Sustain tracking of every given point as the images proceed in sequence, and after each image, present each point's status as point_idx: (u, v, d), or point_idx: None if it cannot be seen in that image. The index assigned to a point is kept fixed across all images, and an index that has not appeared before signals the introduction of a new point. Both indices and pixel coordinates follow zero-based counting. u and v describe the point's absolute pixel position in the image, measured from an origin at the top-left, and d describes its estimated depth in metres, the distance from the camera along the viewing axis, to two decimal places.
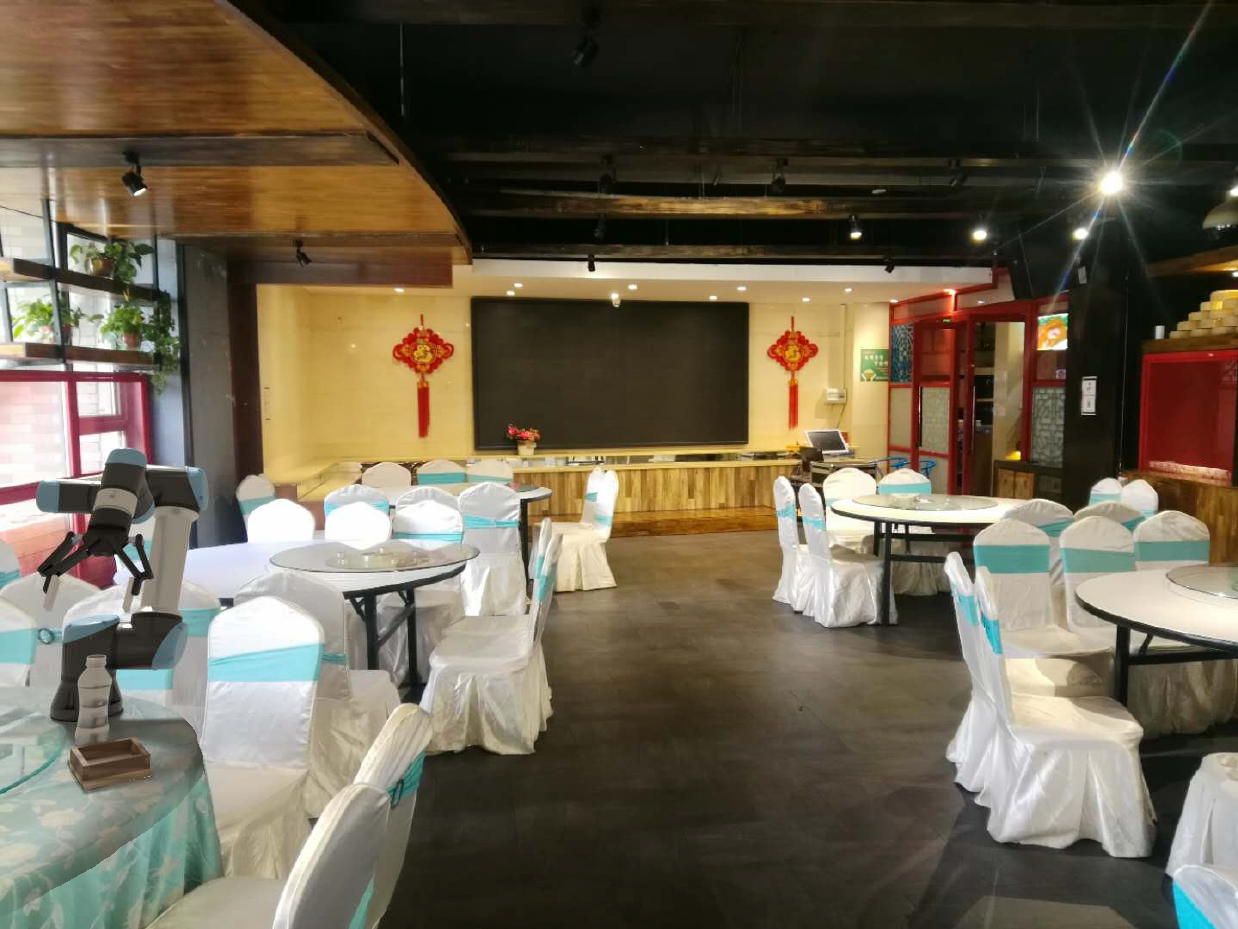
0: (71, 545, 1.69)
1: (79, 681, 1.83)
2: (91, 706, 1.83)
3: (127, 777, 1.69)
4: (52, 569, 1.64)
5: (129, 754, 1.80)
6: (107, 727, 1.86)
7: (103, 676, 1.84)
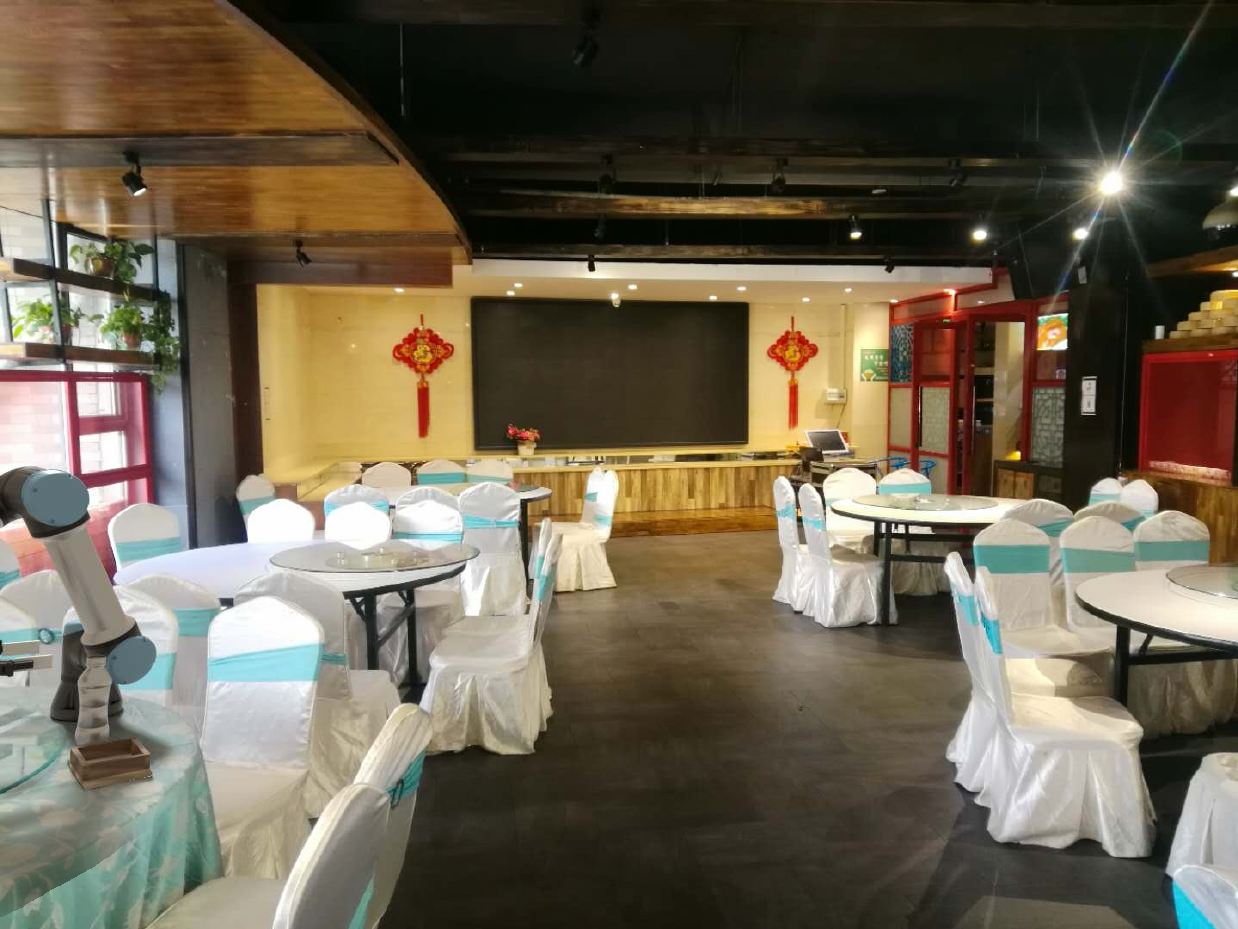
0: None
1: (79, 681, 1.83)
2: (91, 706, 1.83)
3: (127, 777, 1.69)
4: None
5: (129, 754, 1.80)
6: (107, 727, 1.86)
7: (103, 676, 1.84)
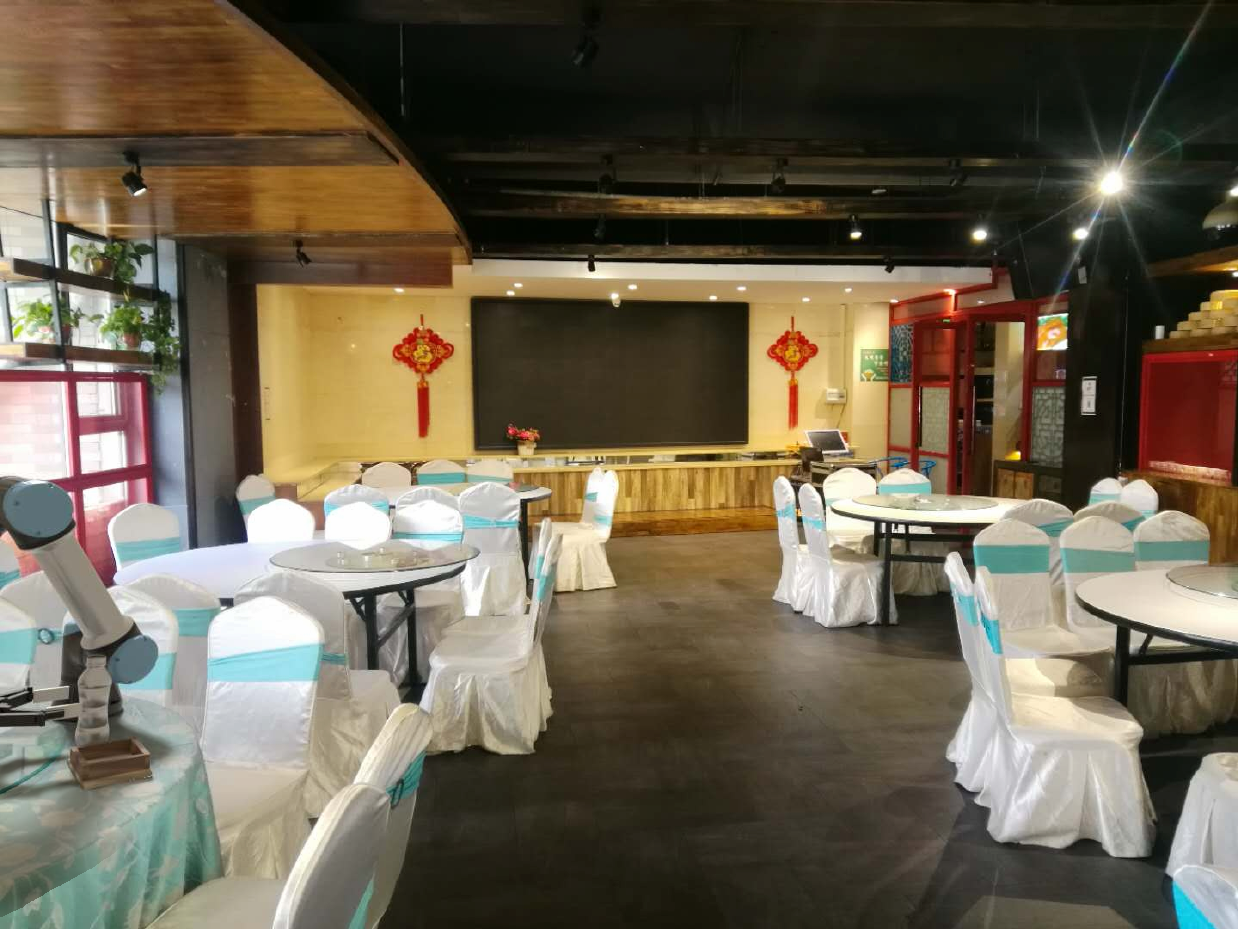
0: None
1: (79, 681, 1.83)
2: (91, 706, 1.83)
3: (127, 777, 1.69)
4: None
5: (129, 754, 1.80)
6: (107, 727, 1.86)
7: (103, 676, 1.84)
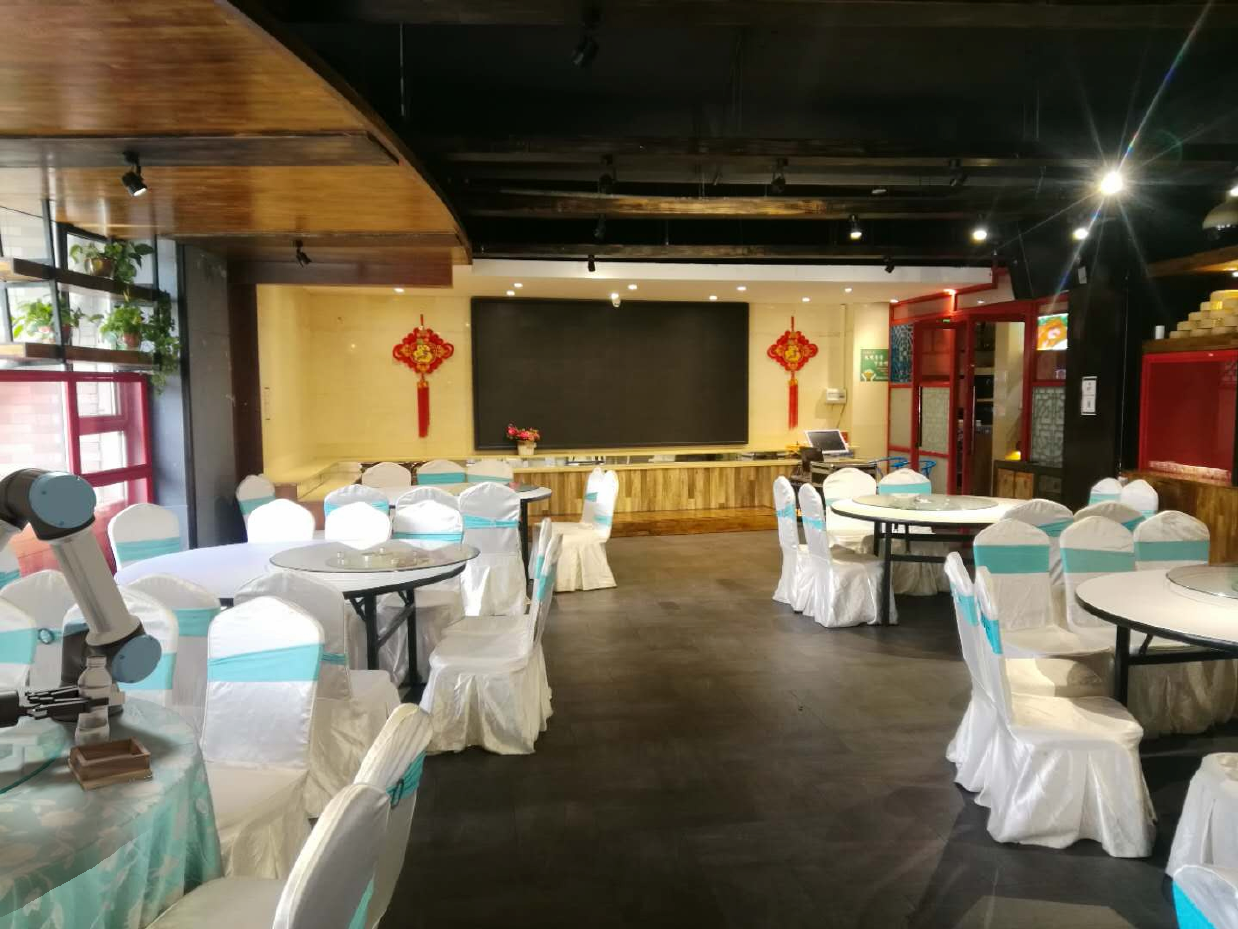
0: None
1: (79, 681, 1.83)
2: None
3: (127, 777, 1.69)
4: None
5: (129, 754, 1.80)
6: (107, 727, 1.86)
7: (104, 676, 1.84)
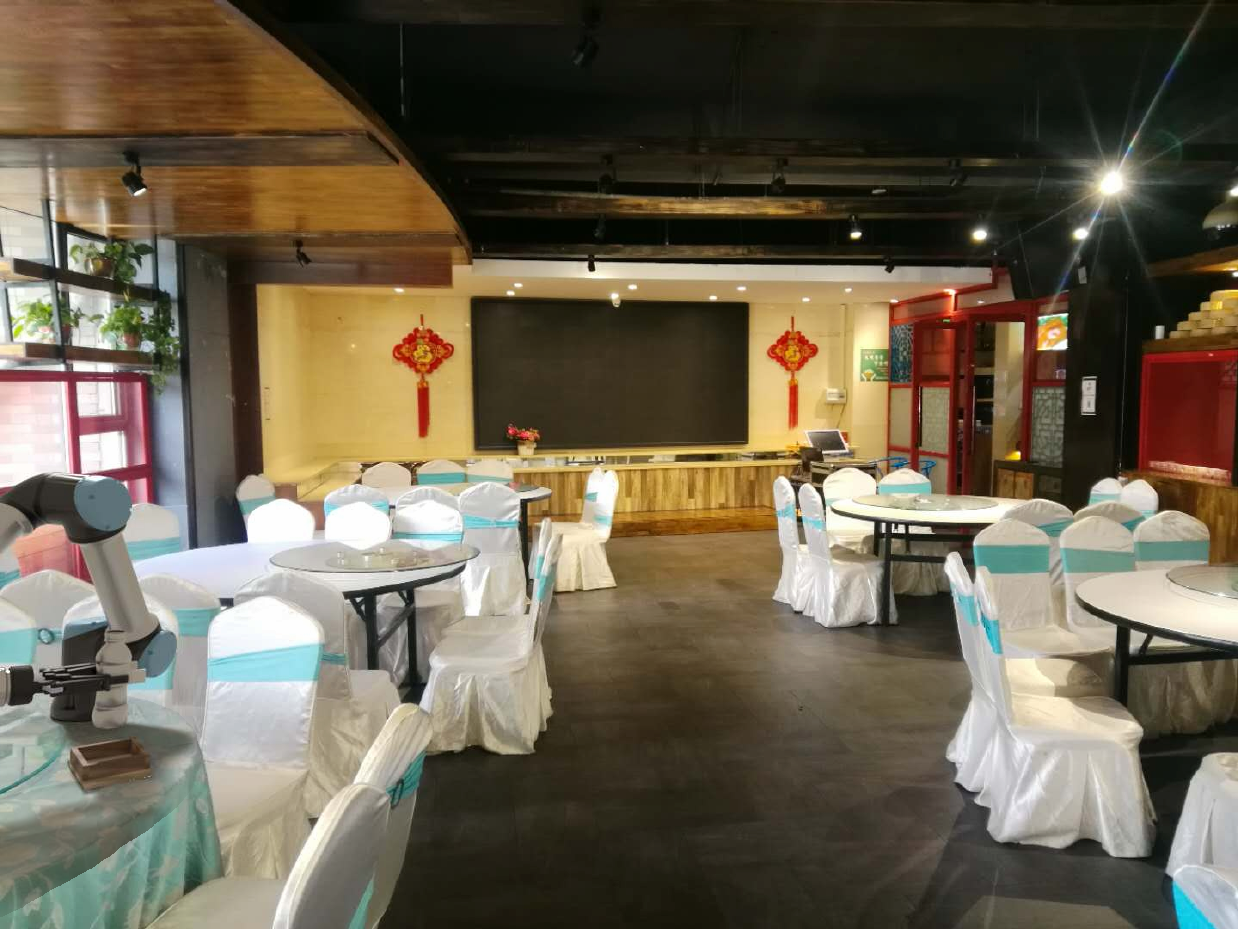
0: None
1: (97, 657, 1.71)
2: None
3: (127, 777, 1.69)
4: None
5: (129, 754, 1.80)
6: (126, 707, 1.74)
7: (123, 652, 1.72)
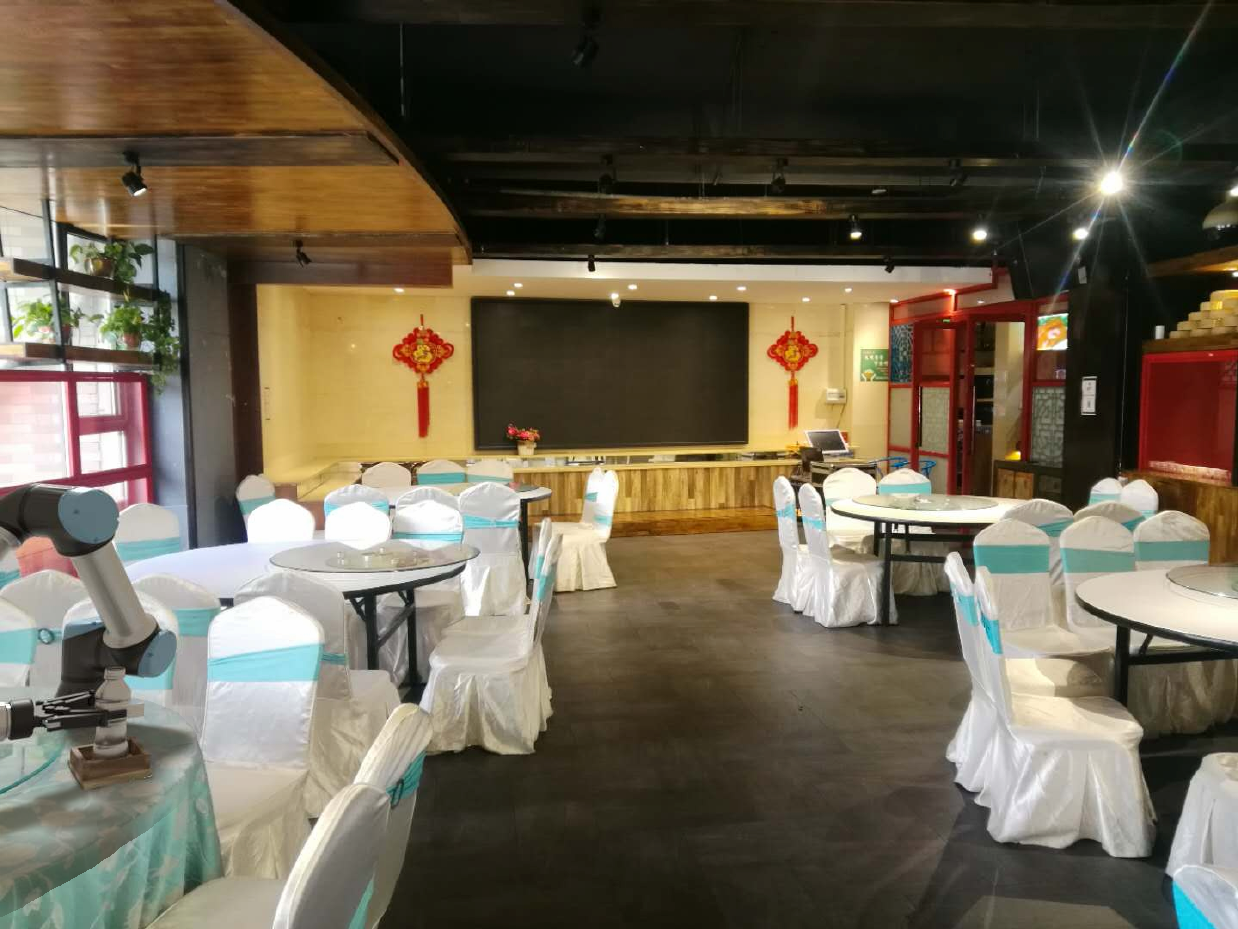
0: None
1: (97, 695, 1.72)
2: (110, 722, 1.72)
3: (127, 777, 1.69)
4: None
5: (129, 754, 1.80)
6: (126, 744, 1.74)
7: (123, 689, 1.73)
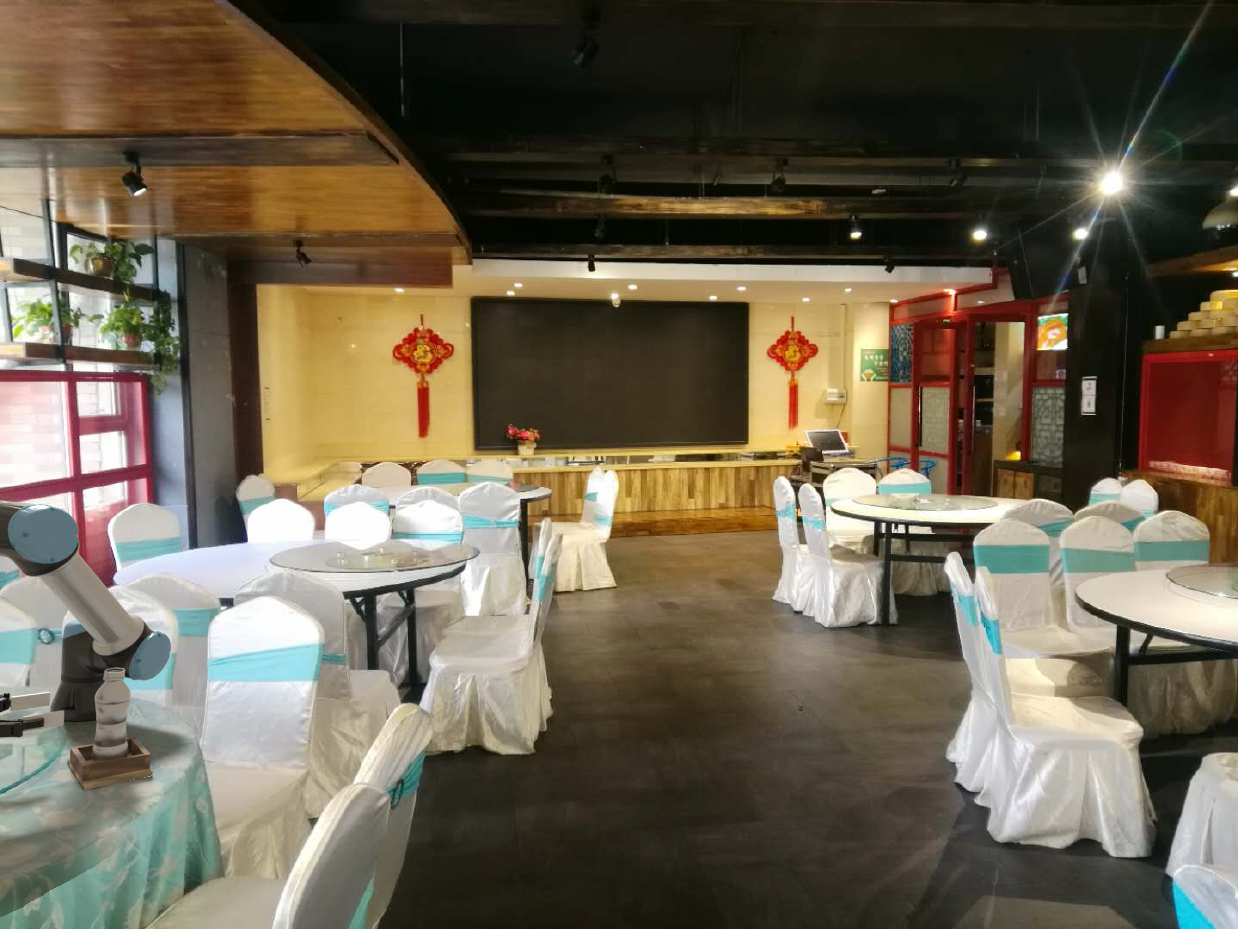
0: None
1: (96, 696, 1.71)
2: (109, 723, 1.71)
3: (127, 777, 1.69)
4: None
5: (129, 754, 1.80)
6: (126, 745, 1.74)
7: (122, 691, 1.73)
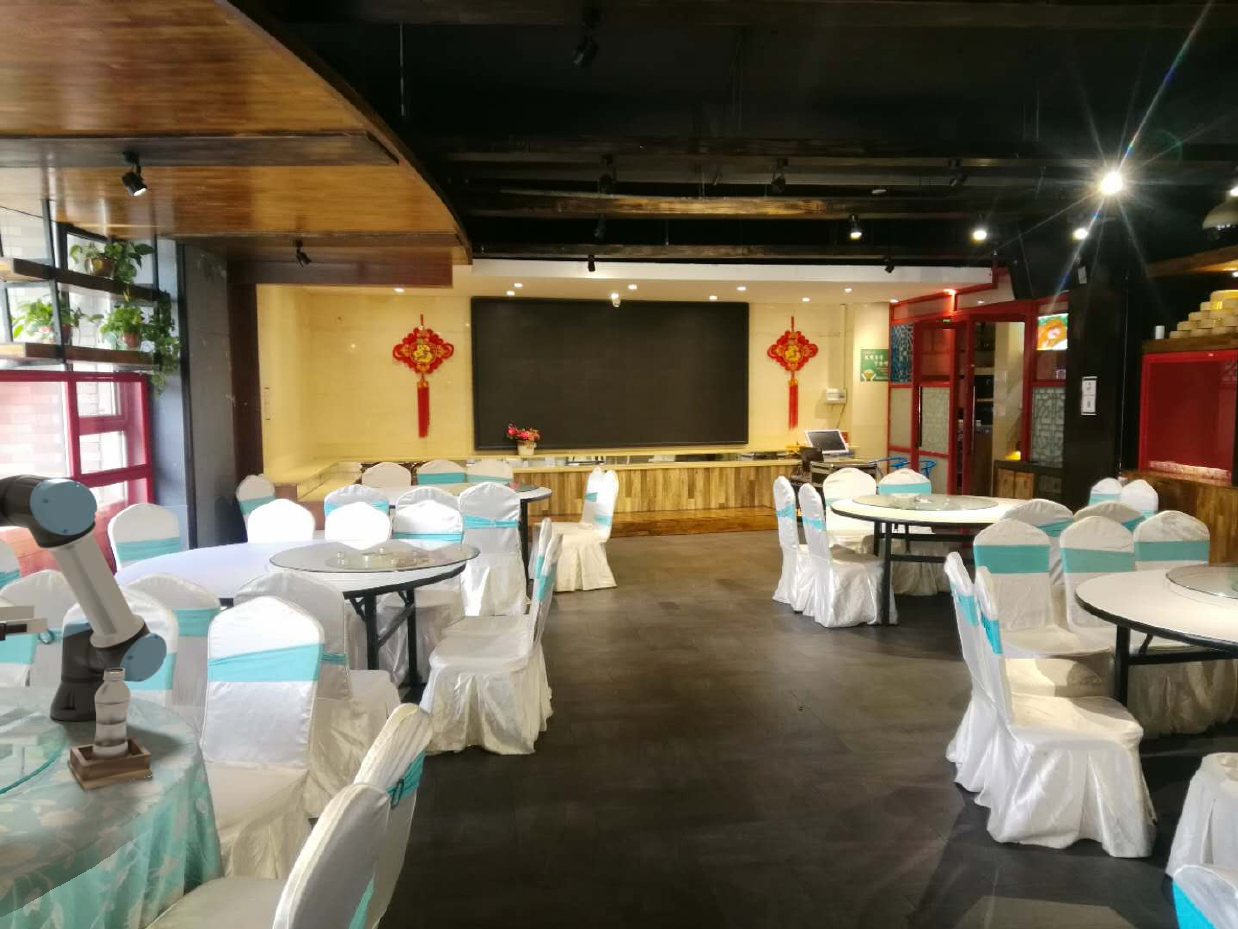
0: None
1: (96, 696, 1.71)
2: (109, 723, 1.71)
3: (127, 777, 1.69)
4: None
5: (129, 754, 1.80)
6: (126, 745, 1.74)
7: (122, 691, 1.73)
